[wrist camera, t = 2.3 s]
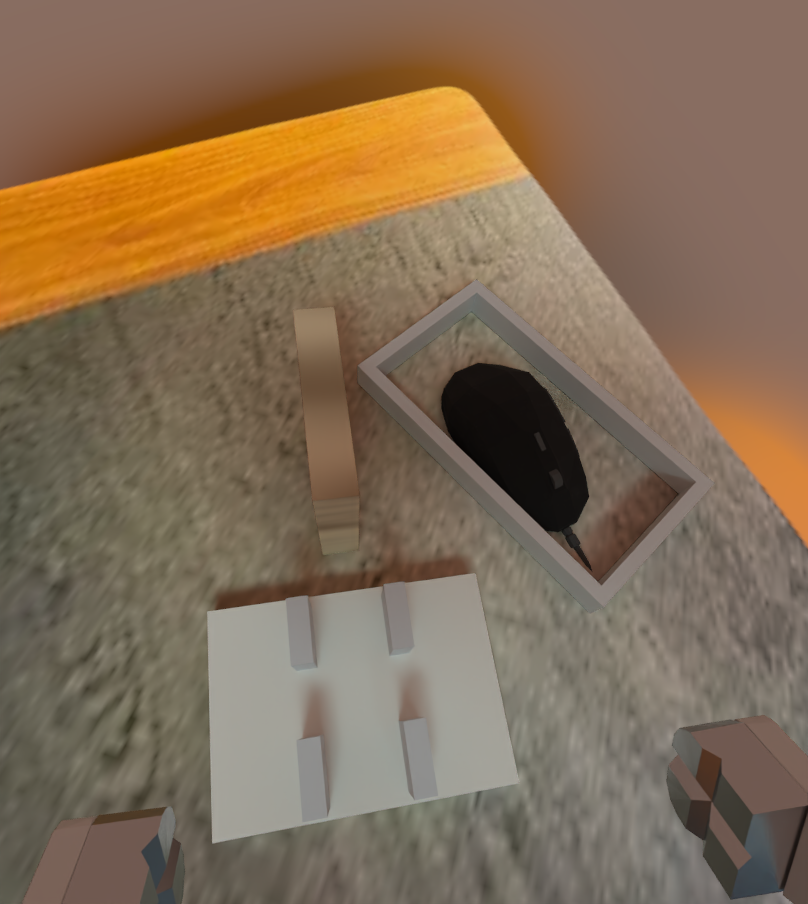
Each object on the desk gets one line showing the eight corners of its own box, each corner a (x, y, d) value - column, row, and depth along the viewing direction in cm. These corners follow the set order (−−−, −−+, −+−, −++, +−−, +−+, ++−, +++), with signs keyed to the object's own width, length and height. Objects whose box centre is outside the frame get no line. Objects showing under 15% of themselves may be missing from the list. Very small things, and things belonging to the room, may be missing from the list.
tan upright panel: (358, 550, 33) (359, 495, 25) (323, 555, 33) (312, 501, 24) (336, 381, 37) (331, 287, 29) (305, 384, 37) (291, 290, 29)
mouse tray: (696, 494, 36) (714, 483, 34) (589, 613, 32) (603, 607, 31) (471, 298, 41) (476, 279, 39) (357, 382, 37) (357, 365, 36)
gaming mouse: (546, 599, 33) (569, 584, 29) (422, 393, 38) (429, 359, 34) (633, 550, 35) (665, 531, 31) (503, 359, 40) (518, 323, 36)
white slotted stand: (511, 780, 29) (537, 790, 25) (219, 836, 27) (195, 858, 23) (470, 579, 33) (486, 559, 29) (214, 616, 31) (192, 600, 27)
